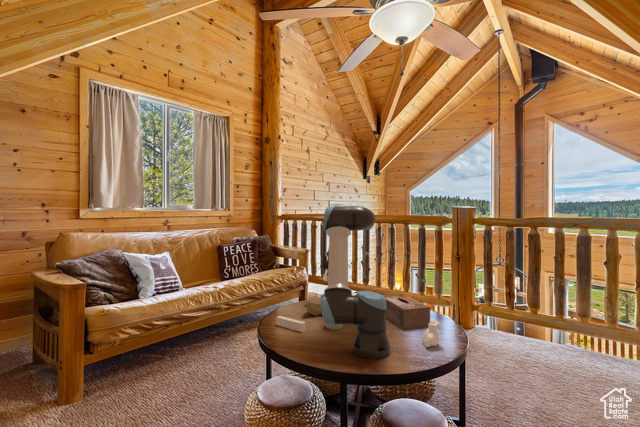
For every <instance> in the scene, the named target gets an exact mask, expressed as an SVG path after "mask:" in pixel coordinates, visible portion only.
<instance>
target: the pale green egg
mask: <svg viewBox="0 0 640 427" xmlns="http://www.w3.org/2000/svg"><path fill="white" fill-rule="evenodd" d="M325 328H327V329H329V330H334V331H335V330H337V331H338V330H341V329H343V324H335V325H334V324H326V323H325Z"/></svg>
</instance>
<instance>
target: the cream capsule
mask: <svg viewBox="0 0 640 427" xmlns="http://www.w3.org/2000/svg"><path fill="white" fill-rule="evenodd" d="M313 296H317V297H318V293H317V292H308V293H307V295H306V297H307V298H306V301H307V302H308V299H309V297H313ZM307 302H306V303H307Z"/></svg>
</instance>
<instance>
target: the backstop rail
mask: <svg viewBox="0 0 640 427" xmlns="http://www.w3.org/2000/svg"><path fill="white" fill-rule="evenodd" d="M277 325H279V326H278V327H281V326H282V328H285V327H286V329H288V328H289V330H293V331H297V332H300V333H305V332H306V325H307V324H306V322H305V321H302V320H298V319H294V318H289V317H285V316H283V315H282V316H281V315H279V316H277V317H276V326H277Z"/></svg>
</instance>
